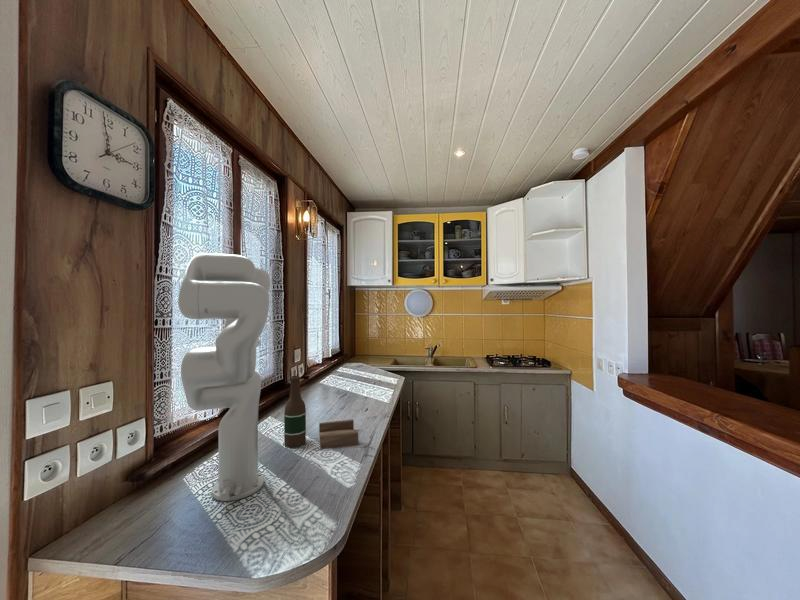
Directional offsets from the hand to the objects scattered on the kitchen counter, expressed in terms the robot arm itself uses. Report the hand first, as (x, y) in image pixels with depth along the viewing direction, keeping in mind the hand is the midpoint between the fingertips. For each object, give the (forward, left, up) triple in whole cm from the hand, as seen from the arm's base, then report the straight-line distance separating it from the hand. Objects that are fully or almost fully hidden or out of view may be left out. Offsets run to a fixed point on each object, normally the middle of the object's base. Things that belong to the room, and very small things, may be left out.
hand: (241, 364), depth 110 cm
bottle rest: (0, -32, -29) cm, 44 cm away
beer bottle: (0, -17, -29) cm, 34 cm away
